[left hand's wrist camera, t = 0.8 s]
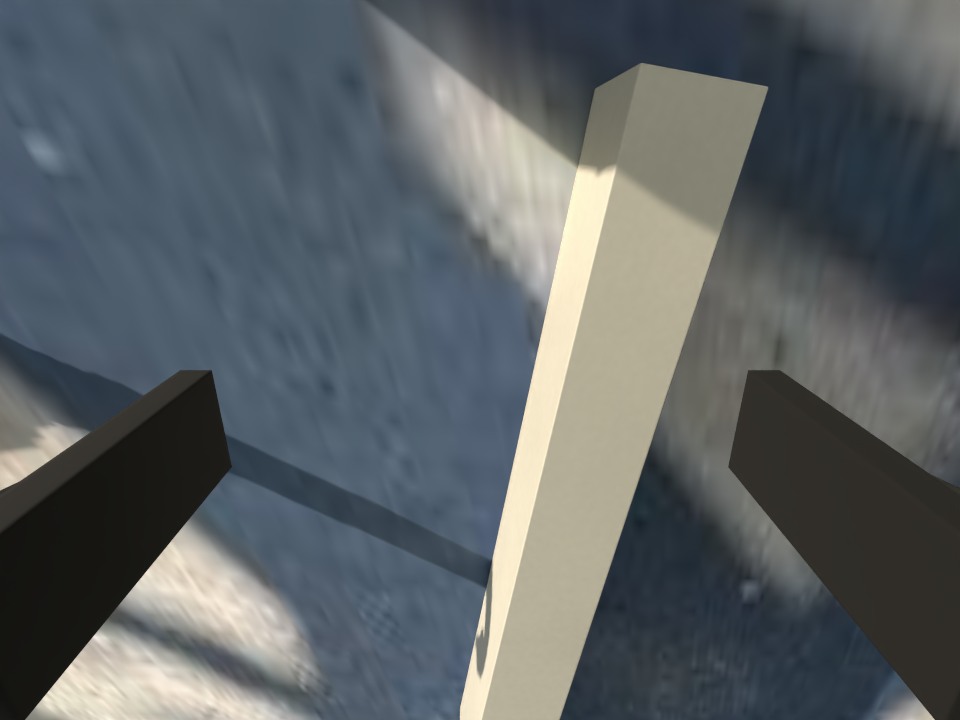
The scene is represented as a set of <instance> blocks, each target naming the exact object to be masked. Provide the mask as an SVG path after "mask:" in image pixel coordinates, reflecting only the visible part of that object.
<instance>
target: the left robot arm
mask: <svg viewBox="0 0 960 720" xmlns="http://www.w3.org/2000/svg"><path fill="white" fill-rule="evenodd" d="M231 467H232V466H231V461H230V457H229V452H228V447H227V442H226V437H225V432H224V428H223V423H222V418H221V413H220V408H219V403H218V399H217V394H216V389H215V384H214V379H213V374H212V370H180V371H179V372H177V373H176V374H174V375H173V376H172V377H170V378H169V379H167V380H166V381H164V382H163V383H161V384H160V385H159V386H157V387H156V388H154V389H153V390H151V391H150V392H148V393H147V394H145V395H144V396H143V397H141V398H140V399H138V400H137V401H135V402H134V403H132V404H131V405H130V406H128V407H127V408H125V409H124V410H122V411H121V412H119V413H118V414H117V415H115V416H114V417H112V418H111V419H109V420H108V421H106V422H105V423H104V424H102V425H101V426H99V427H98V428H96V429H95V430H93V431H92V432H91V433H89V434H88V435H86V436H85V437H83V438H82V439H80V440H79V441H78V442H76V443H75V444H73V445H72V446H70V447H69V448H67V449H66V450H65V451H63V452H62V453H60V454H59V455H57V456H56V457H54V458H53V459H52V460H50V461H49V462H47V463H46V464H44V465H43V466H41V467H40V468H39V469H37V470H36V471H34V472H33V473H31V474H30V475H28V476H27V477H26V478H24V479H23V480H21V481H20V482H18V483H16V484H13V485H11V486H9V487H7V488H5V489H3V490H1V491H0V720H25V719H26V718H27V717H28V715H29V714H30V713H31V712H32V711H33V709H34V708H35V707H36V706H37V704H38V703H39V702H40V701H41V700H42V698H43V697H44V696H45V695H46V693H47V692H48V691H49V690H50V689H51V687H52V686H53V685H54V684H55V682H56V681H57V680H58V679H59V677H60V676H61V675H62V674H63V673H64V671H65V670H66V669H67V668H68V666H69V665H70V664H71V663H72V662H73V660H74V659H75V658H76V657H77V655H78V654H79V653H80V652H81V651H82V649H83V648H84V647H85V646H86V644H87V643H88V642H89V641H90V640H91V638H92V637H93V636H94V635H95V633H96V632H97V631H98V630H99V629H100V627H101V626H102V625H103V624H104V622H105V621H106V620H107V619H108V618H109V616H110V615H111V614H112V613H113V611H114V610H115V609H116V608H117V607H118V605H119V604H120V603H121V602H122V600H123V599H124V598H125V597H126V596H127V594H128V593H129V592H130V591H131V589H132V588H133V587H134V586H135V585H136V583H137V582H138V581H139V580H140V578H141V577H142V576H143V575H144V573H145V572H146V571H147V570H148V569H149V567H150V566H151V565H152V564H153V562H154V561H155V560H156V559H157V558H158V556H159V555H160V554H161V553H162V551H163V550H164V549H165V548H166V547H167V545H168V544H169V543H170V542H171V540H172V539H173V538H174V537H175V536H176V534H177V533H178V532H179V531H180V529H181V528H182V527H183V526H184V525H185V523H186V522H187V521H188V520H189V518H190V517H191V516H192V515H193V514H194V512H195V511H196V510H197V509H198V507H199V506H200V505H201V504H202V503H203V501H204V500H205V499H206V498H207V496H208V495H209V494H210V493H211V492H212V490H213V489H214V488H215V487H216V485H217V484H218V483H219V482H220V481H221V479H222V478H223V477H224V476H225V474H226V473H227V472H228V471H229V469H230V468H231ZM728 467H729V468H730V469H731V471H732V472H733V473H734V474H735V476H736V477H737V478H738V479H739V481H740V482H741V483H742V484H743V485H744V487H745V488H746V489H747V490H748V492H749V493H750V494H751V495H752V496H753V498H754V499H755V500H756V501H757V503H758V504H759V505H760V506H761V507H762V509H763V510H764V511H765V512H766V514H767V515H768V516H769V517H770V518H771V520H772V521H773V522H774V523H775V525H776V526H777V527H778V528H779V529H780V531H781V532H782V533H783V534H784V536H785V537H786V538H787V539H788V540H789V542H790V543H791V544H792V545H793V547H794V548H795V549H796V550H797V551H798V553H799V554H800V555H801V556H802V558H803V559H804V560H805V561H806V562H807V564H808V565H809V566H810V567H811V569H812V570H813V571H814V572H815V573H816V575H817V576H818V577H819V578H820V580H821V581H822V582H823V583H824V585H825V586H826V587H827V588H828V589H829V591H830V592H831V593H832V594H833V596H834V597H835V598H836V599H837V600H838V602H839V603H840V604H841V605H842V607H843V608H844V609H845V610H846V611H847V613H848V614H849V615H850V616H851V618H852V619H853V620H854V621H855V622H856V624H857V625H858V626H859V627H860V629H861V630H862V631H863V632H864V633H865V635H866V636H867V637H868V638H869V640H870V641H871V642H872V643H873V644H874V646H875V647H876V648H877V649H878V651H879V652H880V653H881V654H882V655H883V657H884V658H885V659H886V660H887V662H888V663H889V664H890V665H891V666H892V668H893V669H894V670H895V671H896V673H897V674H898V675H899V676H900V677H901V679H902V680H903V681H904V682H905V684H906V685H907V686H908V687H909V689H910V690H911V691H912V692H913V693H914V695H915V696H916V697H917V698H918V700H919V701H920V702H921V703H922V704H923V706H924V707H925V708H926V709H927V711H928V712H929V713H930V714H931V715H932V717H933V718H934V719H935V720H960V488H958V487H956V486H954V485H951V484H949V483H947V482H945V481H943V480H941V479H939V478H936V477H934V476H932V475H930V474H929V473H927V472H926V471H924V470H923V469H921V468H920V467H919V466H917V465H916V464H914V463H913V462H911V461H910V460H908V459H907V458H906V457H904V456H903V455H901V454H900V453H898V452H897V451H895V450H894V449H893V448H891V447H890V446H888V445H887V444H885V443H884V442H882V441H881V440H880V439H878V438H877V437H875V436H874V435H872V434H871V433H869V432H868V431H867V430H865V429H864V428H862V427H861V426H859V425H858V424H856V423H855V422H854V421H852V420H851V419H849V418H848V417H846V416H845V415H843V414H842V413H841V412H839V411H838V410H836V409H835V408H833V407H832V406H830V405H829V404H828V403H826V402H825V401H823V400H822V399H820V398H819V397H817V396H816V395H815V394H813V393H812V392H810V391H809V390H807V389H806V388H804V387H803V386H801V385H800V384H799V383H797V382H796V381H794V380H793V379H791V378H790V377H788V376H787V375H786V374H784V373H783V372H781V371H780V370H748V374H747V379H746V384H745V389H744V394H743V399H742V403H741V408H740V413H739V418H738V423H737V428H736V432H735V437H734V442H733V447H732V452H731V457H730V461H729V466H728Z"/></svg>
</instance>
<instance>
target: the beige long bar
mask: <svg viewBox="0 0 960 720" xmlns="http://www.w3.org/2000/svg"><path fill="white" fill-rule="evenodd" d="M767 91H768V87H767V86H762V85H756V84H751V83H746V82H740V81H735V80H730V79H725V78H719V77H714V76H709V75H703V74H698V73H693V72H687V71H682V70H677V69H672V68H666V67H661V66H656V65H650V64H645V63H640V64H638V65H637V66H635V67H633V68H631V69H629V70H628V71H626V72H624V73H622V74H620V75H619V76H617V77H615V78H613V79H611V80H610V81H608V82H606V83H604V84H602V85H601V86H599V87H597V88H595V91H594V95H593V100H592V105H591V109H590V114H589V118H588V123H587V128H586V132H585V137H584V141H583V146H582V151H581V155H580V160H579V164H578V169H577V174H576V178H575V183H574V188H573V192H572V197H571V201H570V206H569V211H568V215H567V220H566V224H565V229H564V234H563V238H562V243H561V247H560V252H559V257H558V261H557V266H556V270H555V275H554V280H553V284H552V289H551V293H550V298H549V303H548V307H547V312H546V316H545V321H544V326H543V330H542V335H541V339H540V344H539V349H538V353H537V358H536V362H535V367H534V372H533V376H532V381H531V385H530V390H529V395H528V399H527V404H526V409H525V413H524V418H523V422H522V427H521V432H520V436H519V441H518V445H517V450H516V455H515V459H514V464H513V468H512V473H511V478H510V482H509V487H508V491H507V496H506V501H505V505H504V510H503V514H502V519H501V524H500V528H499V533H498V537H497V542H496V547H495V551H494V556H493V560H492V565H491V570H490V574H489V579H488V583H487V588H486V593H485V597H484V602H483V606H482V611H481V616H480V620H479V625H478V629H477V634H476V639H475V643H474V648H473V653H472V657H471V662H470V666H469V671H468V676H467V680H466V685H465V689H464V694H463V699H462V703H461V708H460V720H560V717H561V714H562V711H563V708H564V705H565V702H566V699H567V696H568V693H569V690H570V687H571V684H572V681H573V678H574V675H575V672H576V669H577V666H578V663H579V660H580V657H581V654H582V651H583V648H584V644H585V641H586V638H587V635H588V632H589V629H590V626H591V623H592V620H593V617H594V614H595V611H596V608H597V605H598V602H599V599H600V596H601V593H602V590H603V587H604V584H605V581H606V578H607V575H608V572H609V569H610V566H611V563H612V560H613V557H614V554H615V551H616V548H617V545H618V542H619V539H620V536H621V533H622V530H623V526H624V523H625V520H626V517H627V514H628V511H629V508H630V505H631V502H632V499H633V496H634V493H635V490H636V487H637V484H638V481H639V478H640V475H641V472H642V469H643V466H644V463H645V460H646V457H647V454H648V451H649V448H650V445H651V442H652V439H653V436H654V433H655V430H656V427H657V424H658V421H659V418H660V415H661V411H662V408H663V405H664V402H665V399H666V396H667V393H668V390H669V387H670V384H671V381H672V378H673V375H674V372H675V369H676V366H677V363H678V360H679V357H680V354H681V351H682V348H683V345H684V342H685V339H686V336H687V333H688V330H689V327H690V324H691V321H692V318H693V315H694V312H695V309H696V306H697V303H698V300H699V297H700V293H701V290H702V287H703V284H704V281H705V278H706V275H707V272H708V269H709V266H710V263H711V260H712V257H713V254H714V251H715V248H716V245H717V242H718V239H719V236H720V233H721V230H722V227H723V224H724V221H725V218H726V215H727V212H728V209H729V206H730V203H731V200H732V197H733V194H734V191H735V188H736V185H737V182H738V178H739V175H740V172H741V169H742V166H743V163H744V160H745V157H746V154H747V151H748V148H749V145H750V142H751V139H752V136H753V133H754V130H755V127H756V124H757V121H758V118H759V115H760V112H761V109H762V106H763V103H764V100H765V97H766V94H767Z"/></svg>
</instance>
